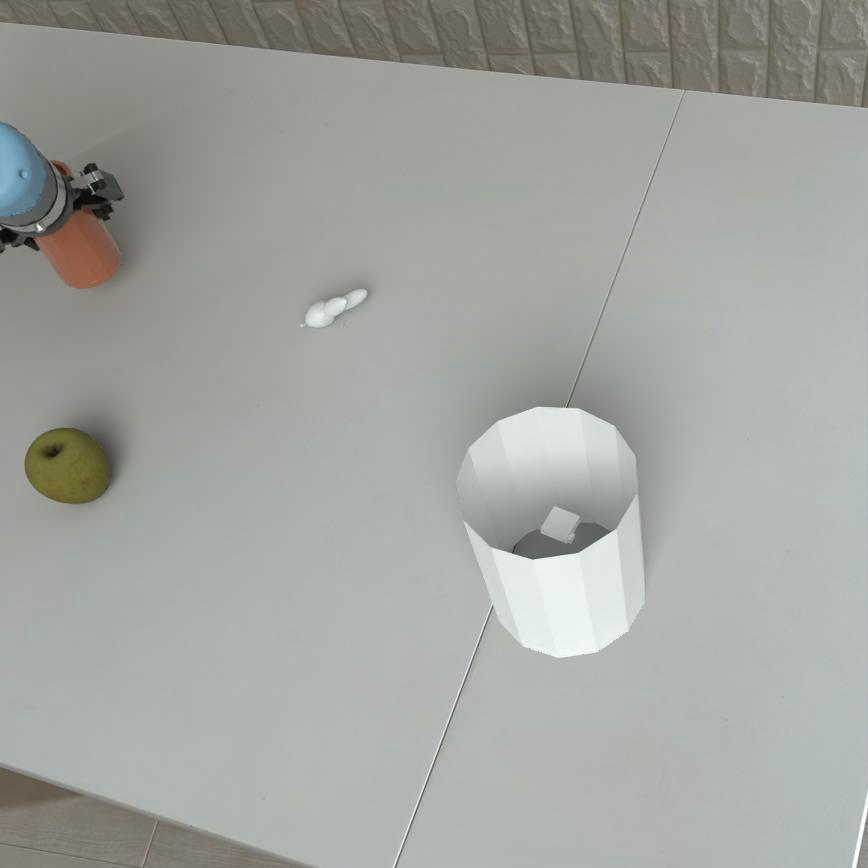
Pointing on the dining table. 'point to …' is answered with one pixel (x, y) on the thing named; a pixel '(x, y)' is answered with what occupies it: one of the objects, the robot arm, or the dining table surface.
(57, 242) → the cup
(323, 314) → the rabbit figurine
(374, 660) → the dining table surface
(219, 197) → the dining table surface
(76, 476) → the apple
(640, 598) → the container
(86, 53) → the dining table surface
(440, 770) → the dining table surface
